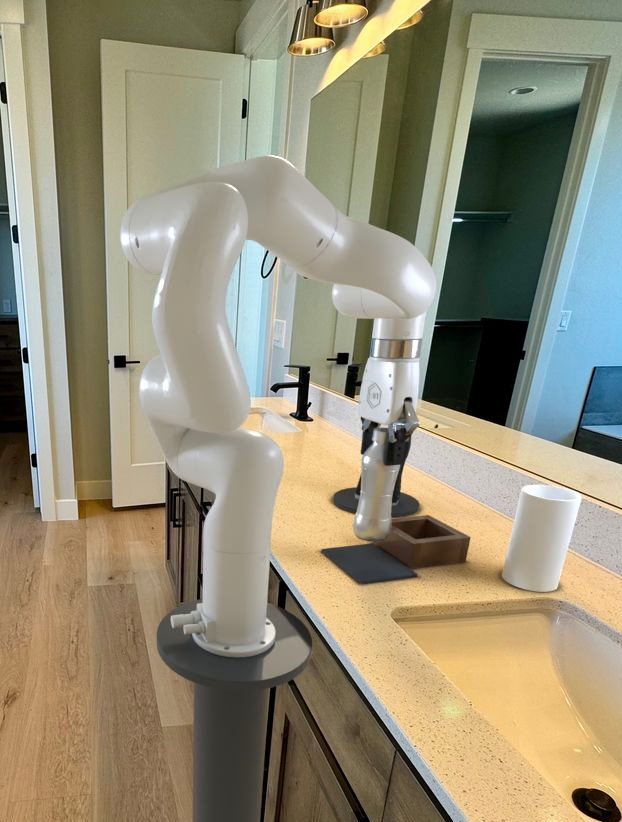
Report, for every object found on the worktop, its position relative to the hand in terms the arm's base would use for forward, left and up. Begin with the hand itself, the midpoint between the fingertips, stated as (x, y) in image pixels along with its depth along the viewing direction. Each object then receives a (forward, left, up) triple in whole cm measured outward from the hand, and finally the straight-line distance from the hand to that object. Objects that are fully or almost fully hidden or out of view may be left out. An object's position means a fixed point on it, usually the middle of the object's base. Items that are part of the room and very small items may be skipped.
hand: (380, 458), depth 98 cm
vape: (+20, +29, -20) cm, 41 cm away
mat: (0, 0, -20) cm, 20 cm away
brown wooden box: (+12, +2, -20) cm, 23 cm away
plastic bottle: (0, 0, -15) cm, 15 cm away
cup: (+23, -13, -20) cm, 33 cm away
